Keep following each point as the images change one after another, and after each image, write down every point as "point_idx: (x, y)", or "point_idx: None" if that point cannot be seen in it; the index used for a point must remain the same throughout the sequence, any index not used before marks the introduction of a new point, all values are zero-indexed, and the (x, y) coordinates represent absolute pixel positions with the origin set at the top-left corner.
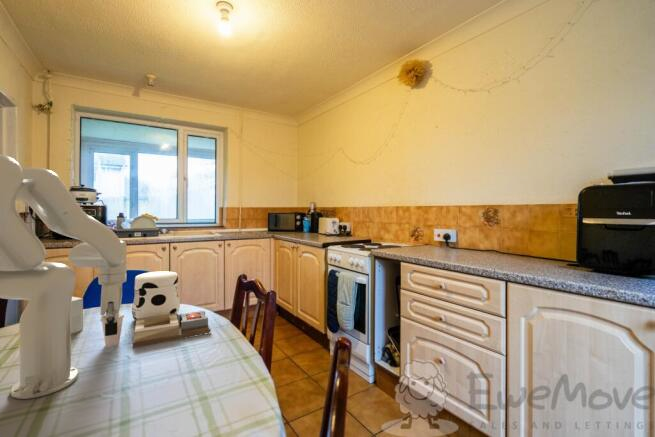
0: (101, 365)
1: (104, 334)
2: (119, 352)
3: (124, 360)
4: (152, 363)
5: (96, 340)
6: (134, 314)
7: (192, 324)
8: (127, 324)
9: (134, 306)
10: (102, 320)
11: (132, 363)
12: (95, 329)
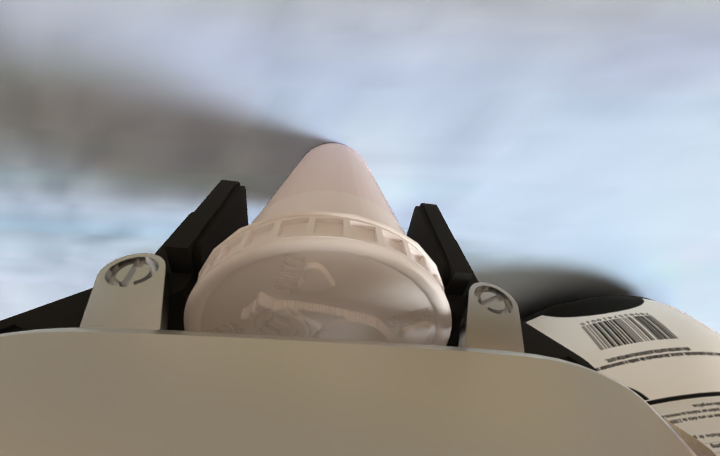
0: (7, 113)
1: (302, 170)
2: (185, 204)
3: (65, 219)
4: (13, 303)
5: (472, 91)
6: (599, 329)
7: None
8: (594, 255)
9: (658, 381)
10: (244, 239)
11: (21, 245)
12: (715, 87)
